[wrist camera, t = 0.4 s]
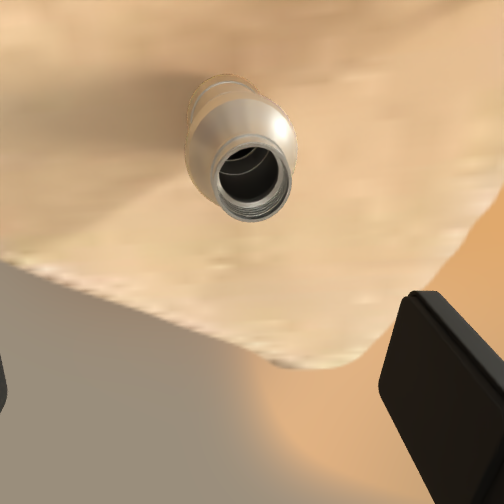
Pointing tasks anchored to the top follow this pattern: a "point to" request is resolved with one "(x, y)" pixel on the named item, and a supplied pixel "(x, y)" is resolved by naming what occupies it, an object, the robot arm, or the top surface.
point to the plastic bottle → (240, 148)
